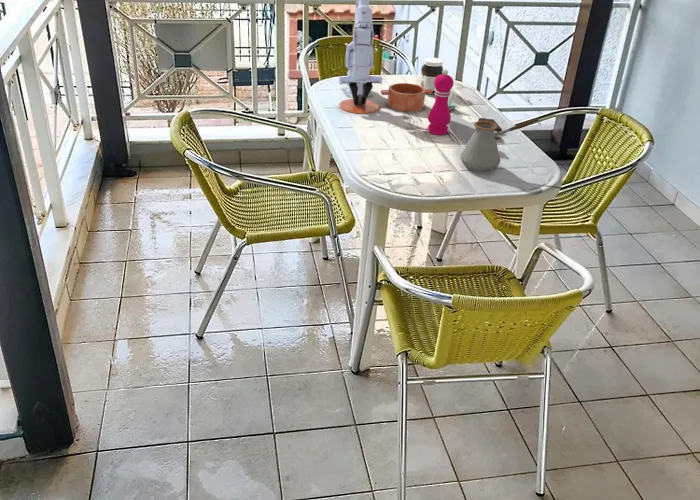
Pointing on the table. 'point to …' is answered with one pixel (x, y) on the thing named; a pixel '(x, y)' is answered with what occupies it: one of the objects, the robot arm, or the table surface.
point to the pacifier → (451, 101)
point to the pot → (406, 96)
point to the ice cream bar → (494, 123)
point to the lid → (359, 106)
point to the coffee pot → (485, 146)
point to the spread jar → (430, 72)
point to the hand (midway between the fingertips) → (359, 104)
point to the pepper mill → (441, 105)
